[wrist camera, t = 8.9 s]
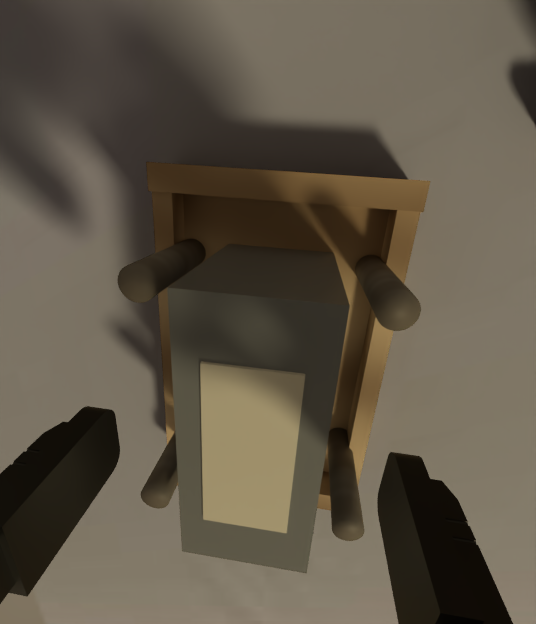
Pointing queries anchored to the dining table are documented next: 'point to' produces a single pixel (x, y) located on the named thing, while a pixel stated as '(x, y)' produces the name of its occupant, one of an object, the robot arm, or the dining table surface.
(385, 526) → the robot arm
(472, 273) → the dining table surface
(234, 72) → the dining table surface
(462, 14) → the dining table surface
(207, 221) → the pin tray
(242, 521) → the block
